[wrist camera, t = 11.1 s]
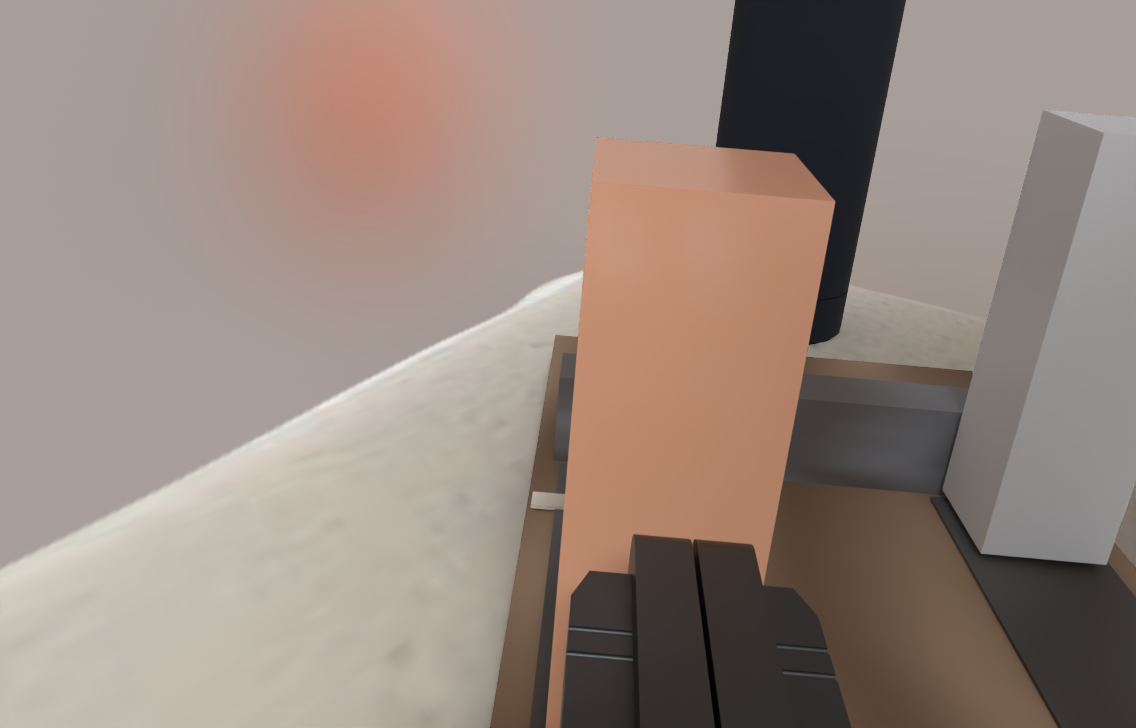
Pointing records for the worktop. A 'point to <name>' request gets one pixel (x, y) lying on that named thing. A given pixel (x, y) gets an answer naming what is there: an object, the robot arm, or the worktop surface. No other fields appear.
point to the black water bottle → (815, 108)
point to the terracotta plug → (686, 353)
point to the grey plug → (1058, 356)
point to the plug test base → (876, 570)
